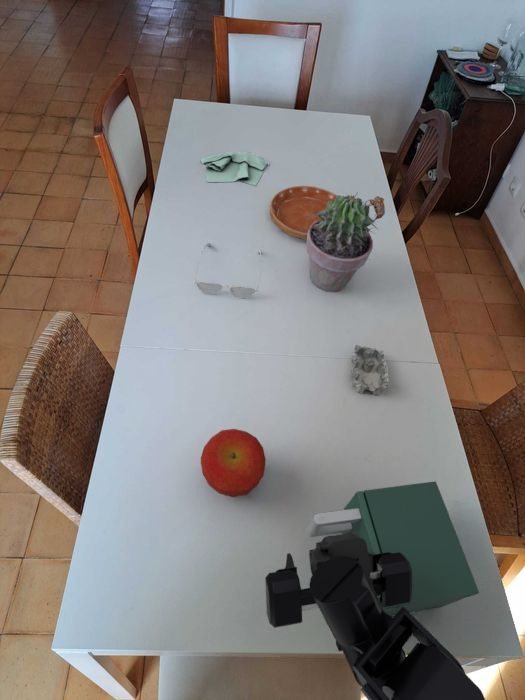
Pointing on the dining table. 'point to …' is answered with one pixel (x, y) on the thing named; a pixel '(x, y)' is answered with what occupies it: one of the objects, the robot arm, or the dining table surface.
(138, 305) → the dining table surface
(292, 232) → the saucer
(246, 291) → the eyeglasses
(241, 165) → the cloth
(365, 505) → the cooler door
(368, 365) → the egg carton
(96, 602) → the dining table surface
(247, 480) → the apple
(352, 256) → the potted plant
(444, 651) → the robot arm
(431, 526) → the box
